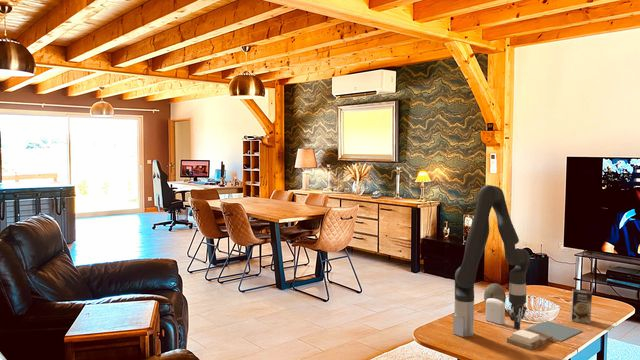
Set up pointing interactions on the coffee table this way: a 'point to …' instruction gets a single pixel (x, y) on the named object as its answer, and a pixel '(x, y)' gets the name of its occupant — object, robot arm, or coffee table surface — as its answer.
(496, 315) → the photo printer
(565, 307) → the coffee table surface
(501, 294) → the decorative egg
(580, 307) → the coffee box
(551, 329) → the mat
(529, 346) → the deck
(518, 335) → the tile
